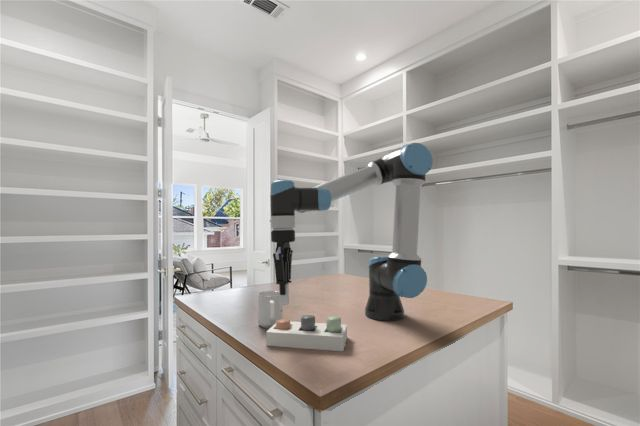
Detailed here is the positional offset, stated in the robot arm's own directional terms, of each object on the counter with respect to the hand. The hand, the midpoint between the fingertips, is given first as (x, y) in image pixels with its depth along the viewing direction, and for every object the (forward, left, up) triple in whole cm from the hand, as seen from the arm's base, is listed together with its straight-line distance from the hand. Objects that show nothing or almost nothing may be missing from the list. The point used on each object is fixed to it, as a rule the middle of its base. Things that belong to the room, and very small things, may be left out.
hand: (284, 304), depth 97 cm
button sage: (-16, 0, -8) cm, 17 cm away
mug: (+9, -12, -11) cm, 18 cm away
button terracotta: (0, 0, -9) cm, 9 cm away
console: (-8, 0, -11) cm, 13 cm away
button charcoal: (-8, 0, -8) cm, 11 cm away
